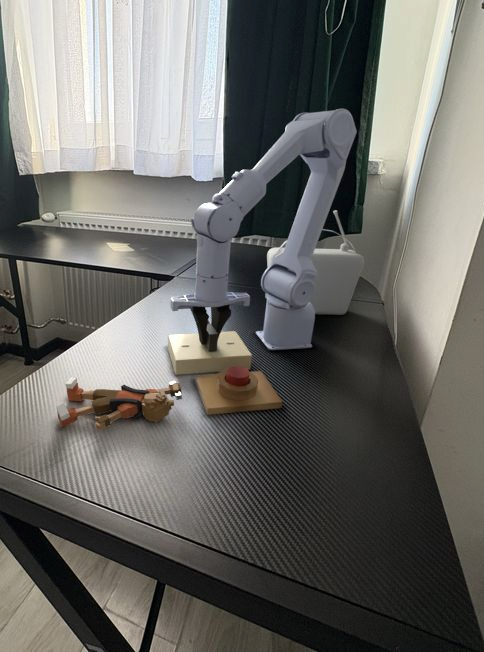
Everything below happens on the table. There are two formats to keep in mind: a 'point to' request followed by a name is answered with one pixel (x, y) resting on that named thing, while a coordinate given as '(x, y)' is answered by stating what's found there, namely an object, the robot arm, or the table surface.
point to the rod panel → (207, 353)
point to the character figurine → (118, 403)
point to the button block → (236, 394)
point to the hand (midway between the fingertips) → (208, 342)
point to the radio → (332, 275)
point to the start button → (237, 376)
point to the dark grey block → (211, 338)
